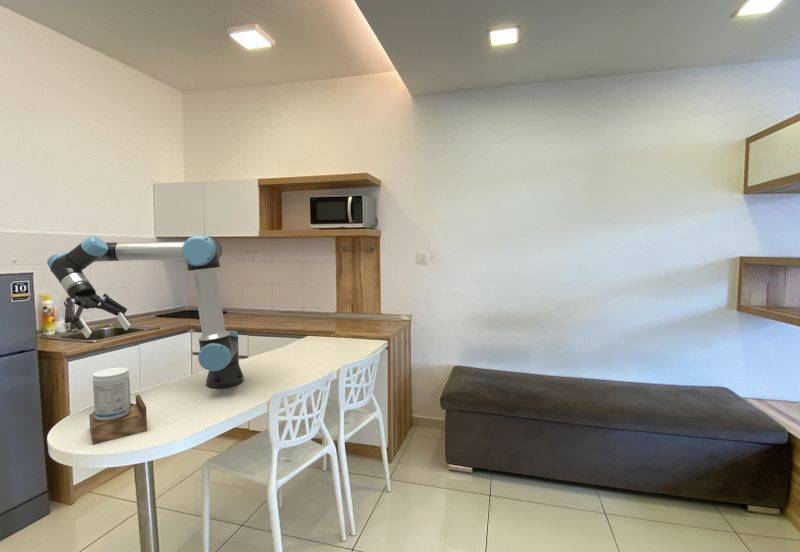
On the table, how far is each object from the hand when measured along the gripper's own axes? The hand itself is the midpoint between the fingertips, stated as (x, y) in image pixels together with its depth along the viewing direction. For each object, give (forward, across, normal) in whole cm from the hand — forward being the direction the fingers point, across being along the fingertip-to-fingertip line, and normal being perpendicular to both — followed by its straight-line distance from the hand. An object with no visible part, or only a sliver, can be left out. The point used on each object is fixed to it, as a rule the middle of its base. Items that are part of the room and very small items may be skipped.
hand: (109, 331), depth 141 cm
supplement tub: (+28, +10, -7) cm, 31 cm away
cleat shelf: (+32, +9, -10) cm, 35 cm away
